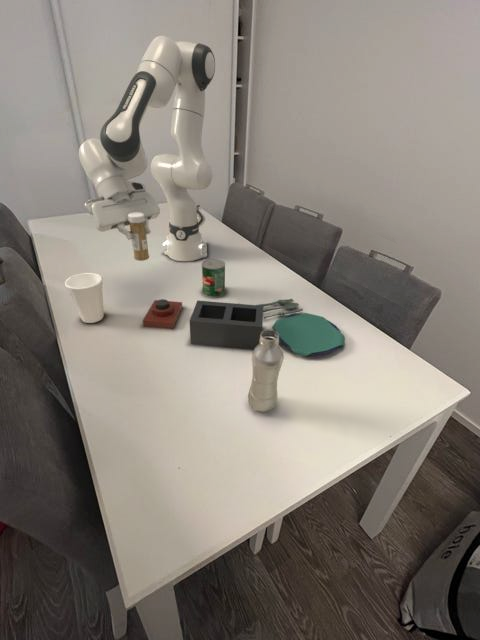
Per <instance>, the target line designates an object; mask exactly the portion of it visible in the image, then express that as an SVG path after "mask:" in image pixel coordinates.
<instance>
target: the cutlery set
mask: <svg viewBox="0 0 480 640" xmlns="http://www.w3.org/2000/svg"><path fill="white" fill-rule="evenodd" d="M277 304H278V305H283V306H280V307H271V306H274V305H277ZM258 305H259V306H264V307H269V306H270V307H271V308H265V309H264V308H263V313H266V312H270V311H276V310H283V309H286V310H289V311H279V312H278V313H275V314H271V315H266V316H263V320H265V319H268V318H272V317H277V316H279V317H280V316H283V317H280V318H277V319H276V320H275V322H274V324H273V325H272V329H273V330H274V331H276V332H277V333H278V334H279V343H281V344H282V345H283V346H284V347H286V348H287V349H289V350H292V353H293V354H296V355H301V356H304V357H307V356H309V355H311V356H320V355H327V354H330V353H333V352H335V351H337V350H338V349H339V348H340V347H344V344H345V342H346V337H345V335H344V334H343V332H342V331H341V330H340V329H339V327H338V326H337V325H336V324H335V323H333V322H332V321H330V320H328V319H327V318H326V317H324V316H321V315H317V314H314V313H308V312H307V313H306V312H303V311H304V308H299V309H296V308H297V307H299V305H300V303H298V302H295V300H294V299H293V298H288V299H278V300H276V301H272V302H268V303H260V304H258ZM298 312H299V313H298ZM300 312H303V313H300ZM285 315H286V316H285Z"/></svg>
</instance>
